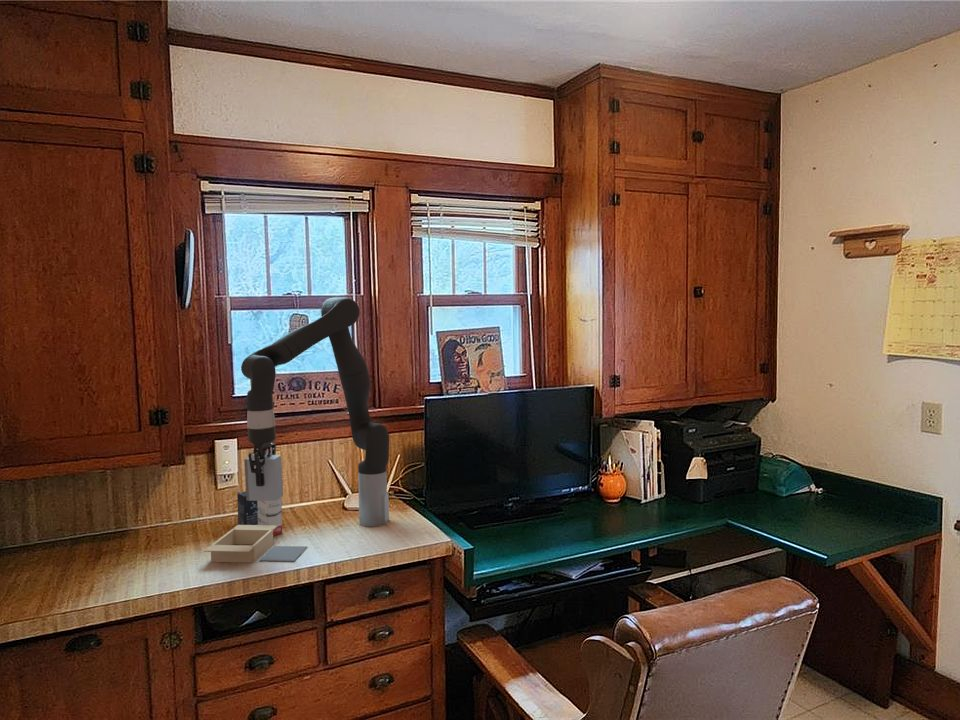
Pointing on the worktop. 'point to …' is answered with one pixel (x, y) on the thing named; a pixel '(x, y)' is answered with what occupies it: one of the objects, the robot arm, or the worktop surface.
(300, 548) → the mat
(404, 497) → the worktop surface
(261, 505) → the ink box
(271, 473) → the box
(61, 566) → the worktop surface
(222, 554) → the beige shallow rectangular tray
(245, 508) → the box
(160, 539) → the worktop surface
